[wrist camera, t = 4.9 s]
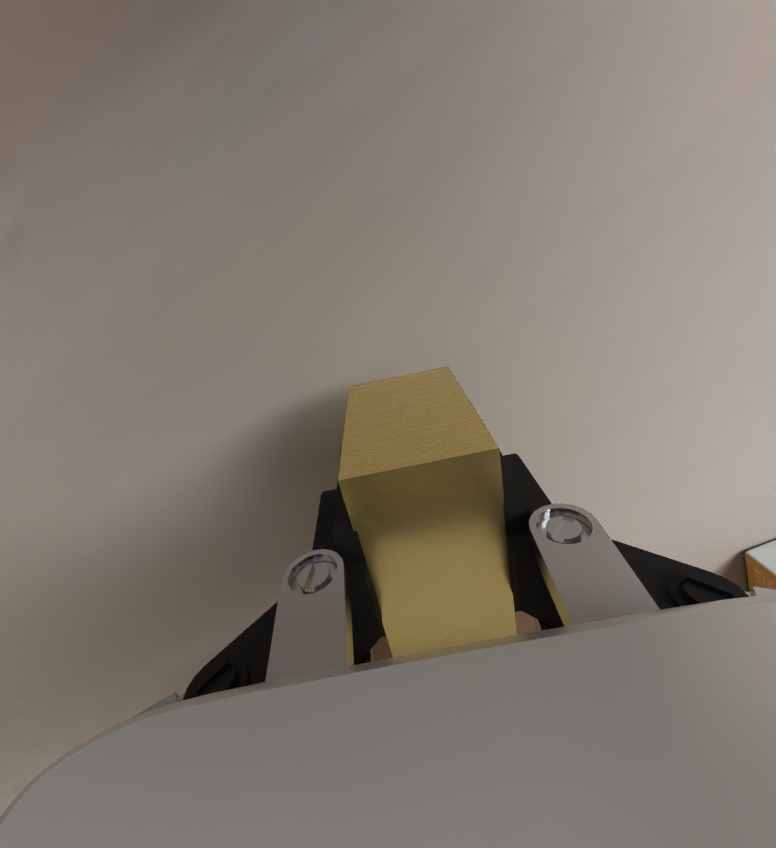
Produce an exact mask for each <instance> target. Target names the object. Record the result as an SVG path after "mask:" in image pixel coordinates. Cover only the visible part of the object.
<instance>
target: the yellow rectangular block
mask: <svg viewBox="0 0 776 848" xmlns="http://www.w3.org/2000/svg"><path fill="white" fill-rule="evenodd" d="M338 483H339V486H340V489H341V492H342V495H343V499H344V502H345V505H346V508H347V511H348V515H349V518H350V521H351V524H352V527H353V531H357V532H358V536H359V539H360V542H361V546H362V549H363V552H364V556H365V559H366V562H367V566H368V569H369V572H370V576H371V579H372V582H373V586H374V589H375V593H376V596H377V599H378V603H379V606H380V609H381V613H382V623H383V627H384V630H385V633H386V636H387V639H388V643H389V646H390V649H391V652H392V655H393V658H394V657H399V656H405V655H410V654H416V653H421V652H426V651H432V650H437V649H443V648H448V647H454V646H459V645H465V644H470V643H476V642H481V641H487V640H492V639H498V638H503V637H509V636H514V635H517V631H516V621H515V610H514V600H513V593H512V591H511V585H510V574H509V562H508V551H507V540H506V528H505V517H504V506H503V503H504V494H503V483H502V473H501V462H500V452H499V447H498V445H497V444H496V442H495V441H494V439H493V437H492V436H491V434H490V433H489V431H488V429H487V428H486V426H485V425H484V423H483V421H482V420H481V418H480V417H479V415H478V413H477V412H476V410H475V409H474V407H473V406H472V404H471V402H470V401H469V399H468V398H467V396H466V394H465V393H464V391H463V390H462V388H461V386H460V385H459V383H458V382H457V380H456V378H455V377H454V375H453V374H452V372H451V370H450V369H449V367H448V366H447V367H442V368H437V369H433V370H428V371H423V372H419V373H414V374H409V375H404V376H400V377H395V378H390V379H386V380H381V381H376V382H372V383H367V384H362V385H357V386H353V387H349V391H348V400H347V408H346V417H345V425H344V433H343V442H342V450H341V458H340V467H339V475H338Z"/></svg>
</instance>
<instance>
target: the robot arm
mask: <svg viewBox="0 0 776 848" xmlns="http://www.w3.org/2000/svg"><path fill="white" fill-rule="evenodd" d="M341 450H342V445H341ZM499 452H500V451H499ZM340 458H341V453H340ZM500 462H501V473H502V483H503V494H504V503H503V506H504V517H505V528H506V540H507V551H508V562H509V574H510V585H511V591H512V593H513V600H514V610H515V612H518V611H522V612H524V613H526V614H528V615H530V616H532V617H533V619H534V624H535V627H536V630H537V631H536V632H531V633H525V634H520V635H514V636H509V637H503V638H498V639H492V640H487V641H481V642H476V643H470V644H465V645H459V646H454V647H448V648H443V649H437V650H432V651H426V652H421V653H416V654H410V655H405V656H399V657H394V658H389V659H383V660H378V661H375V657H374V652H373V648H372V647H373V646H374V645H375V644H376V643H377V641H378V640H379V639H380V638H381V637H383V636H386V633H385V630H384V627H383V623H382V613H381V609H380V606H379V603H378V599H377V596H376V593H375V589H374V586H373V582H372V579H371V576H370V572H369V569H368V566H367V562H366V559H365V556H364V552H363V549H362V546H361V542H360V539H359V536H358V532H357V531H353V527H352V524H351V521H350V518H349V515H348V511H347V508H346V505H345V502H344V499H343V495H342V492H341V489H340V486H339V483H337V489H334V490H329V491H324V492H322V495H321V500H320V506H319V512H318V519H317V525H316V532H315V538H314V544H313V551H310V552H307V553H305V554H303V555H301V556H300V557H298V558H296V559H295V560H294V561H293V562H292V563H291V564H290V565H289V566H288V567H287V569H286V570H285V572H284V574H283V576H282V579H281V584H280V591H279V597H278V602H277V603H275V604H274V605H273V606H272V607H271V608H270V609H269V610H268V611H266V612H265V613H264V614H263V615H262V616H261V617H260V618H258V619H257V620H256V621H255V622H254V623H253V624H252V625H251V626H249V627H248V628H247V629H246V630H245V631H244V632H243V633H242V634H240V635H239V636H238V637H237V638H236V639H235V640H234V641H232V642H231V643H230V644H229V645H228V646H227V647H226V648H225V649H223V650H222V651H221V652H220V653H219V654H218V655H217V656H216V657H214V658H213V659H212V660H211V661H210V662H209V663H208V664H206V665H205V666H204V667H203V668H202V669H201V670H200V672H199V673H198V674H197V675H196V676H195V677H194V678H193V680H192V682H191V683H190V685H189V686H188V688H187V690H186V693H185V694H183V695H181V696H180V697H179V696H178V695H177V694H176V692H175V693H173V694H171V695H170V696H168V697H166V698H165V699H163V700H161V701H160V702H158V703H156V704H154V705H153V706H151V707H149V708H148V709H146V710H144V711H143V712H141V713H139V714H138V715H136V716H134V717H133V718H131V719H129V720H126V721H124V722H122V723H119V724H117V725H115V726H113V727H111V728H109V729H107V730H105V731H104V732H102V733H100V734H98V735H96V736H95V737H93V738H91V739H89V740H87V741H86V742H84V743H82V744H80V745H78V746H77V747H75V748H74V749H72V750H71V751H69V752H68V753H66V754H65V755H63V756H62V757H60V758H59V759H58V760H56V761H55V762H54V763H52V764H51V765H50V766H48V767H47V768H46V769H44V770H43V771H42V772H41V773H40V774H39V775H38V776H37V777H36V778H34V779H33V780H32V781H31V782H30V783H29V784H28V785H27V786H26V787H25V788H24V789H23V790H22V791H21V793H20V794H19V795H18V796H17V797H16V798H15V799H14V800H13V801H12V803H11V804H10V805H9V806H8V808H7V809H6V810H5V811H4V813H3V814H2V815H1V816H0V848H776V590H774V589H767V588H760V587H754V586H753V587H752V590H751V592H745V591H743V590H742V589H741V588H740V587H739V586H737V585H736V584H734V583H732V582H731V581H729V580H728V579H726V578H724V577H721V576H719V575H717V574H714V573H712V572H709V571H706V570H703V569H700V568H697V567H694V566H691V565H688V564H684V563H681V562H678V561H675V560H672V559H669V558H666V557H663V556H660V555H657V554H654V553H651V552H648V551H645V550H642V549H639V548H636V547H633V546H630V545H627V544H624V543H621V542H617V541H614V540H611V539H610V537H609V536H608V534H607V533H606V531H605V530H604V529H603V527H602V526H601V524H600V523H599V521H598V520H597V519H596V518H595V517H594V516H593V515H592V514H591V513H589V512H588V511H586V510H584V509H583V508H580V507H577V506H574V505H568V504H551V502H550V501H549V499H548V498H547V496H546V495H545V493H544V492H543V491H542V489H541V488H540V486H539V485H538V483H537V482H536V480H535V479H534V478H533V476H532V475H531V473H530V472H529V470H528V469H527V467H526V466H525V464H524V463H523V462H522V460H521V459H520V457H519V456H518V455H517V454H510V455H505V456H503V455H502V454H501V452H500ZM339 467H340V463H339ZM338 475H339V473H338Z"/></svg>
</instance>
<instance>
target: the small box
mask: <svg viewBox="0 0 776 848" xmlns="http://www.w3.org/2000/svg"><path fill="white" fill-rule="evenodd" d="M745 560H746V565H747V573H748V583H749V592H751V590H752V587H753V586H754V587H760V588H767V589H774V590H776V540H774V541H771V542H768V543H766V544H763V545H761V546H758V547H756V548H753V549H750V550H748V551H746V552H745Z"/></svg>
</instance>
